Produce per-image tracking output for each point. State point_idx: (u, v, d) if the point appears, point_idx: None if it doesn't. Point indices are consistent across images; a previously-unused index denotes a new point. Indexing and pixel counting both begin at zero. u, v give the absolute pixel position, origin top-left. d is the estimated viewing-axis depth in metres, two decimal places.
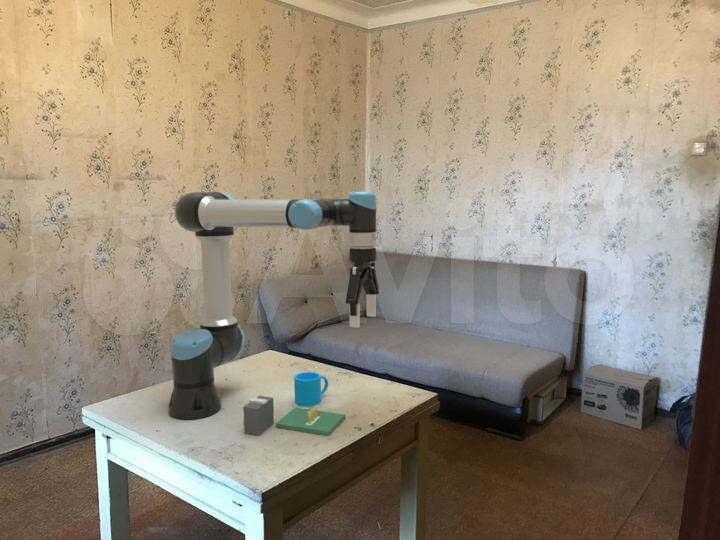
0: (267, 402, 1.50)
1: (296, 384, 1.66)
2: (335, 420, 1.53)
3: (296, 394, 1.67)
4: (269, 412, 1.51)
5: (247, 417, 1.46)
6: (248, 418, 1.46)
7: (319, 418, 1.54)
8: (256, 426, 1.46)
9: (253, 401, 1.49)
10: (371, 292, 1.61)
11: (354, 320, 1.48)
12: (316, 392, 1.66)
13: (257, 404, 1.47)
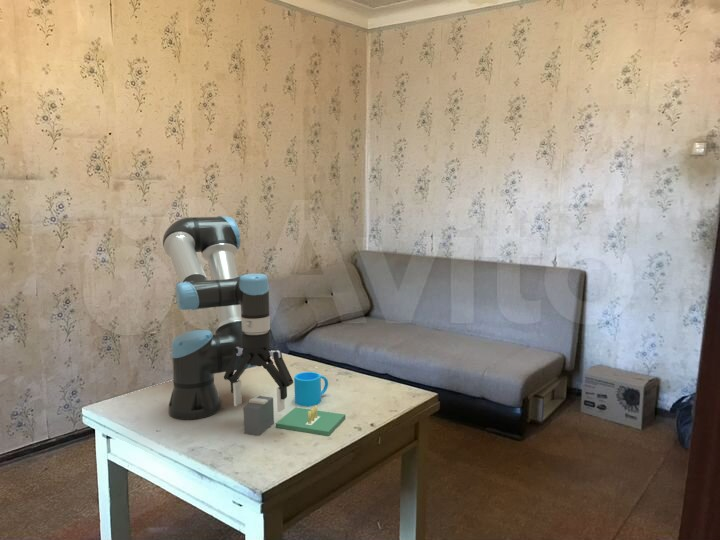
0: (267, 402, 1.50)
1: (296, 384, 1.66)
2: (335, 420, 1.53)
3: (296, 394, 1.67)
4: (269, 412, 1.51)
5: (247, 417, 1.46)
6: (248, 418, 1.46)
7: (319, 418, 1.54)
8: (256, 426, 1.46)
9: (253, 401, 1.49)
10: None
11: None
12: (316, 392, 1.66)
13: (257, 404, 1.47)
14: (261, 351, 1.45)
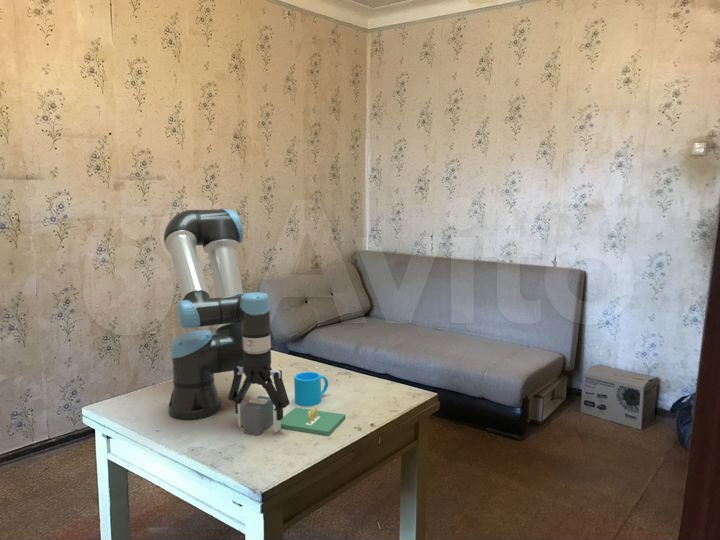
0: (267, 402, 1.50)
1: (296, 384, 1.66)
2: (335, 420, 1.53)
3: (296, 394, 1.67)
4: (269, 412, 1.51)
5: (247, 417, 1.46)
6: (248, 418, 1.46)
7: (319, 418, 1.54)
8: (256, 426, 1.46)
9: (253, 401, 1.49)
10: None
11: None
12: (316, 392, 1.66)
13: (257, 404, 1.47)
14: (262, 369, 1.46)
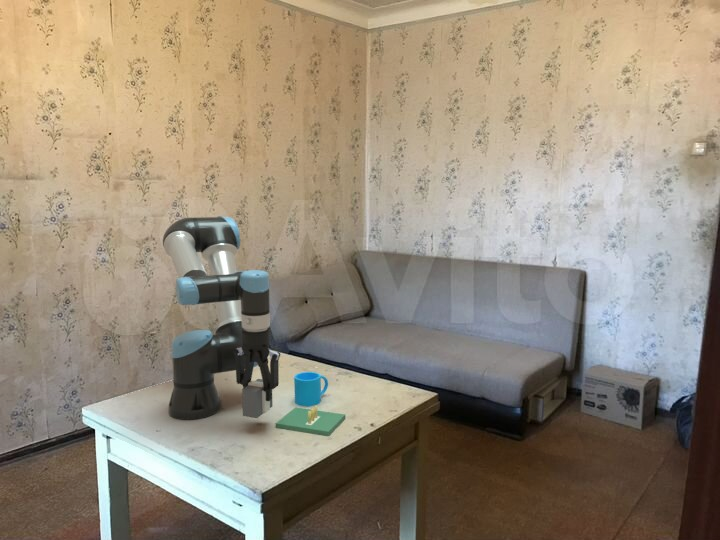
0: None
1: (296, 384, 1.66)
2: (335, 420, 1.53)
3: (296, 394, 1.67)
4: None
5: (246, 400, 1.46)
6: (247, 401, 1.46)
7: (319, 418, 1.54)
8: (255, 409, 1.45)
9: (252, 384, 1.48)
10: None
11: None
12: (316, 392, 1.66)
13: (256, 387, 1.47)
14: (262, 347, 1.45)
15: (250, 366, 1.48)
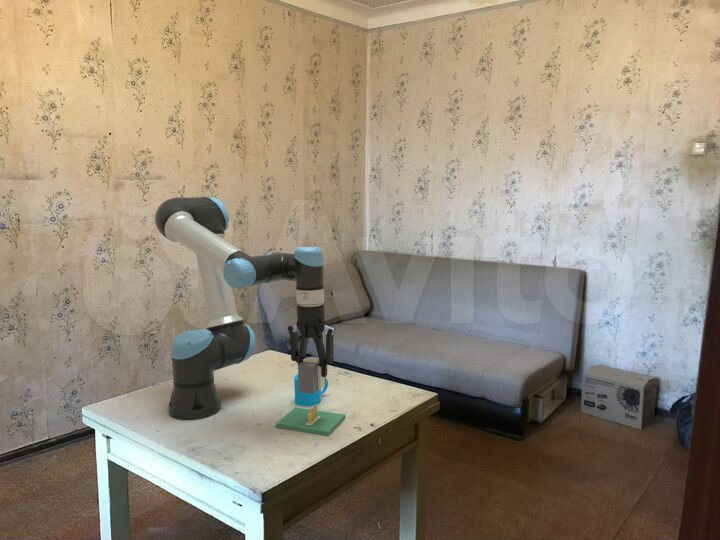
0: None
1: (296, 384, 1.66)
2: (335, 420, 1.53)
3: (296, 394, 1.67)
4: None
5: (302, 375, 1.46)
6: (303, 376, 1.46)
7: (319, 418, 1.54)
8: (311, 384, 1.46)
9: (307, 360, 1.49)
10: None
11: None
12: (316, 392, 1.66)
13: (311, 363, 1.48)
14: (317, 322, 1.46)
15: (305, 342, 1.49)
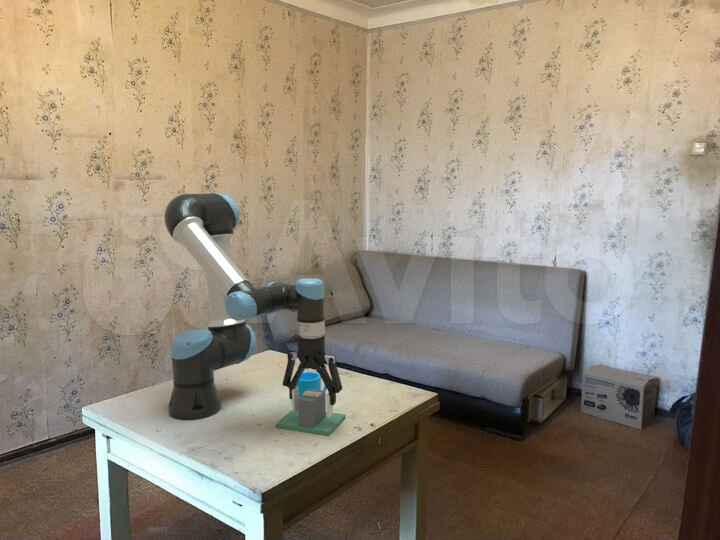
0: (320, 395, 1.51)
1: (296, 384, 1.66)
2: (335, 420, 1.53)
3: None
4: (322, 405, 1.53)
5: (302, 410, 1.48)
6: (303, 411, 1.48)
7: None
8: (311, 418, 1.47)
9: (307, 394, 1.50)
10: None
11: None
12: None
13: (311, 397, 1.49)
14: (317, 354, 1.48)
15: (301, 371, 1.51)
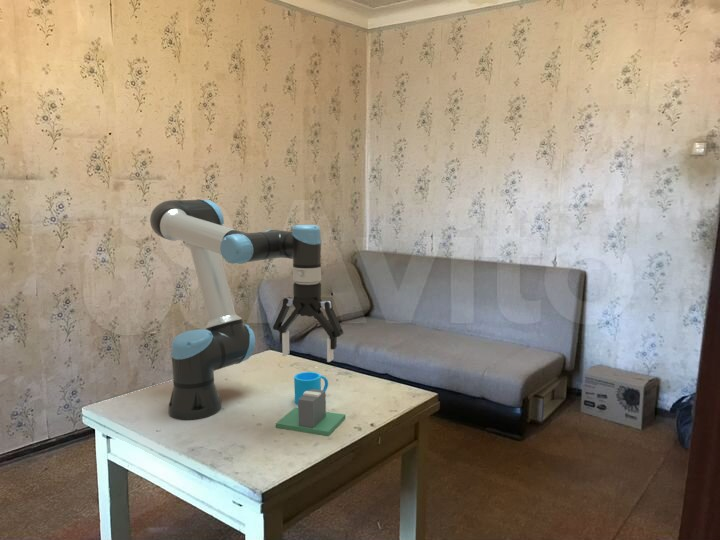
0: (320, 395, 1.51)
1: (296, 384, 1.66)
2: (335, 420, 1.53)
3: (296, 394, 1.67)
4: (322, 405, 1.53)
5: (302, 410, 1.48)
6: (303, 411, 1.48)
7: None
8: (311, 418, 1.47)
9: (307, 394, 1.50)
10: None
11: None
12: None
13: (311, 397, 1.49)
14: (312, 301, 1.46)
15: (294, 317, 1.50)
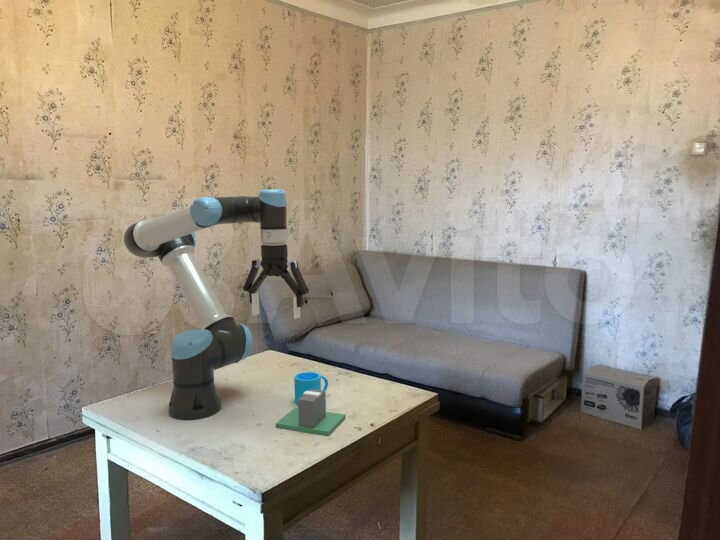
0: (320, 395, 1.51)
1: (296, 384, 1.66)
2: (335, 420, 1.53)
3: (296, 394, 1.67)
4: (322, 405, 1.53)
5: (302, 410, 1.48)
6: (303, 411, 1.48)
7: None
8: (311, 418, 1.47)
9: (307, 394, 1.50)
10: None
11: None
12: None
13: (311, 397, 1.49)
14: (279, 262, 1.55)
15: (263, 278, 1.58)
